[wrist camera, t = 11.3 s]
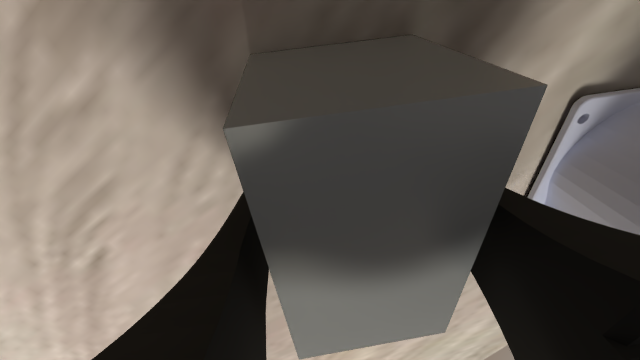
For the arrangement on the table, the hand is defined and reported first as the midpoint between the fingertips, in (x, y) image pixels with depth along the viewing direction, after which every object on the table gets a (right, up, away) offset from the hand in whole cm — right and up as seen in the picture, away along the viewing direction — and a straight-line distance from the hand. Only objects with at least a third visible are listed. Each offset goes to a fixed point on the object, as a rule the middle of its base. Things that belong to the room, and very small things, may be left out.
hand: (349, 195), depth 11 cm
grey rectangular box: (0, +2, +2) cm, 2 cm away
